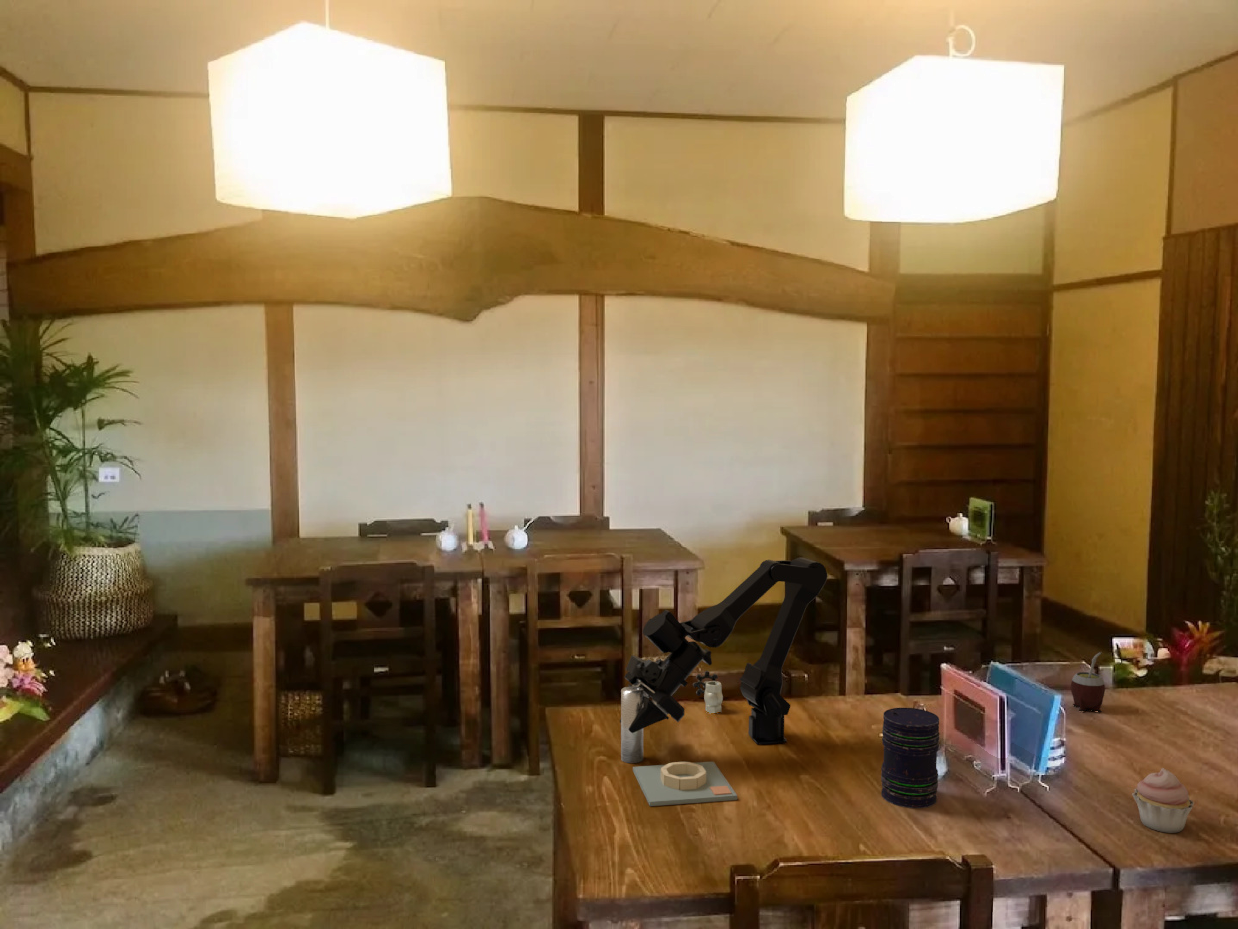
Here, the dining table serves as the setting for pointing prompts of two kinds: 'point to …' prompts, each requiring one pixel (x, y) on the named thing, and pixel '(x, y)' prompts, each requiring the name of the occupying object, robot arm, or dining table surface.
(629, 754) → the silver metal cylinder
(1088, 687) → the mate gourd
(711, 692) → the valve
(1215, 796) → the dining table surface
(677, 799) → the socket board
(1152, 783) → the cupcake
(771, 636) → the robot arm
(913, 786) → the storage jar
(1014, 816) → the dining table surface
